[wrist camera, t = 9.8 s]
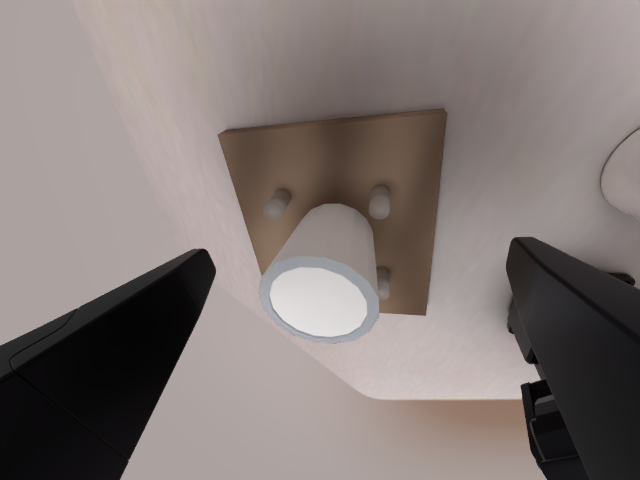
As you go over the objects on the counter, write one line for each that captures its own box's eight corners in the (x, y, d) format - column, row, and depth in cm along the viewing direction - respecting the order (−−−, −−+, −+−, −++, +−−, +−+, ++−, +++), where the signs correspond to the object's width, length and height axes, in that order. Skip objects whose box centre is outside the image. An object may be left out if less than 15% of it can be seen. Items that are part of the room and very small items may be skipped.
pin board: (443, 108, 17) (454, 123, 14) (424, 304, 25) (428, 339, 22) (226, 129, 20) (197, 145, 17) (275, 297, 29) (262, 326, 26)
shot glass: (390, 266, 22) (391, 343, 16) (308, 276, 24) (284, 347, 19) (370, 185, 19) (363, 247, 13) (277, 205, 21) (236, 266, 15)
